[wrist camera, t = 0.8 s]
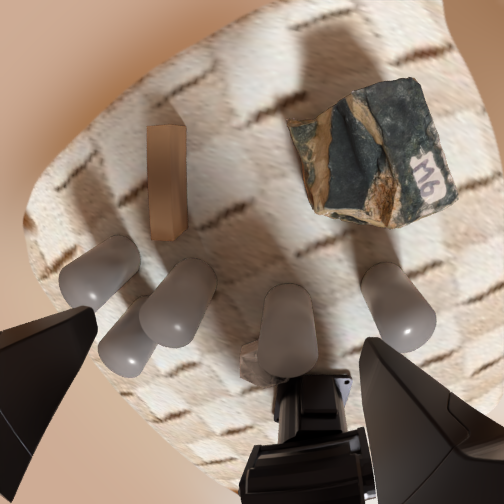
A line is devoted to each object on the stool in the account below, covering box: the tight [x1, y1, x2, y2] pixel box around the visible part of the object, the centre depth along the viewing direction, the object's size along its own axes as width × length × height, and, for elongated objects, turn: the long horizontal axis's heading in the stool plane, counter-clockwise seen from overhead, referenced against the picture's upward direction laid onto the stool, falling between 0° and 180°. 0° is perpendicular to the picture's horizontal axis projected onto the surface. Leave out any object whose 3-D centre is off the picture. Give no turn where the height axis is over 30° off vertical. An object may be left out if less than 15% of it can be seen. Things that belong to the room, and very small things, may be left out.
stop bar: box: [147, 124, 188, 241], centre depth 19 cm, size 7×2×3 cm, turn 179°
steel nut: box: [240, 339, 289, 389], centre depth 24 cm, size 4×5×2 cm
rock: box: [286, 77, 458, 229], centre depth 16 cm, size 9×9×6 cm
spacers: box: [59, 235, 436, 378], centre depth 20 cm, size 8×24×6 cm, turn 89°
